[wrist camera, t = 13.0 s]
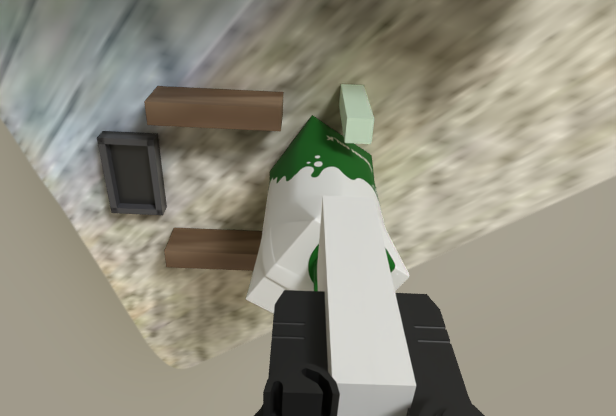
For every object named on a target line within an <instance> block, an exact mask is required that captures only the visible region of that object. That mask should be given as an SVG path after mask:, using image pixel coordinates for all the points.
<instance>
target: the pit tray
mask: <svg viewBox="0 0 616 416" xmlns="http://www.w3.org/2000/svg"><path fill="white" fill-rule="evenodd" d="M97 141H98V146H99V151H100V156H101V161H102V166H103V171H104V176H105V181H106V187H107V192H108V197H109V202H110V207H111V212H112V213H124V214H148V215H163V214H164V212H165V210H166V208H167V205H166V197H165V189H164V181H163V173H162V165H161V157H160V149H159V140H158V134H155V133H134V132H112V131H103V132H102V133H101V134H100V135H99V136H98V137H97Z"/></svg>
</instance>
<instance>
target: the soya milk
mask: <svg viewBox="0 0 616 416" xmlns="http://www.w3.org/2000/svg"><path fill="white" fill-rule="evenodd" d="M323 195H325V196H348V197H371V198H374V202H375V206H376V210H377V215H378V219H379V224H380V228H381V232H382V237H383V241H384V246H385V250H386V254H387V259H388V263H389V268H390V272H391V276H392V281H393V285H394V290H395V291H396V290H397V289H398V288H399V287H400V286H401V285H402V284H403V283H404V282H405V281H406V280H407V279H408V278H409V273H408V271H407V269H406V267H405V265H404V263H403V261H402V259H401V257H400V256H399V254H398V252H397V250H396V248H395V246H394V244H393V242H392V240H391V238H390V236H389V234H388V232H387V230H386V228H385V224H384V220H383V216H382V212H381V208H380V204H379V199H378V195H377V191H376V187H375V183H374V174H373V165H372V155H370V154H369V153H367V152H366V151H364V150H363V149H361V148H360V147H358V146H357V145H356V144H354V143H345V141H344V136H342V135H341V134H339V133H338V132H336V131H335V130H333V129H332V128H330V127H329V126H327V125H326V124H325V123H323V122H322V121H320V120H319V119H317V118H316V117H314V116H313V115H312V116H311V118H310V119H309V120H308V122H307V123H306V124H305V126H304V127H303V128H302V130H301V131H300V132H299V134H298V135H297V136H296V138H295V139H294V140H293V142H292V143H291V144H290V146H289V147H288V148H287V150H286V151H285V152H284V154H283V155H282V156H281V157H280V159H279V160H278V161H277V163H276V164H275V165H274V167H273V168H272V169H271V171H270V182H269V188H268V196H267V203H266V210H265V217H264V224H263V231H262V239H261V243H260V247H259V251H258V255H257V259H256V263H255V267H254V270H253V274H252V278H251V282H250V285H249V289H248V293H247V296H246V300H248V301H250V302H251V303H253V304H255V305H257V306H259V307H261V308H263V309H265V310H267V311H269V312H271V313H273V314H274V306H275V303H276V302H277V300H278V299H279V297H280V296H281V294H282V293H283V291H284V290H297V291H318V284H317V263H318V250H319V237H320V224H321V211H322V198H323Z"/></svg>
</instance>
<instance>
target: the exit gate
mask: <svg viewBox="0 0 616 416" xmlns="http://www.w3.org/2000/svg"><path fill="white" fill-rule="evenodd" d="M339 109H340V116H341V122H342V129H343V135H344V141H345V143H357V144H371V142H372V134H373V126H374V116H373V113H372V110H371V107H370V103H369V100H368V97H367V94H366V91H365V88H364V85H353V84H341V88H340V100H339Z"/></svg>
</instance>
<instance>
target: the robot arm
mask: <svg viewBox="0 0 616 416" xmlns="http://www.w3.org/2000/svg"><path fill="white" fill-rule="evenodd" d="M317 284H318V291H297V290H284V291H283V293H282V294H281V296H280V297H279V299H278V300H277V302H276V303H275V306H274V318H273V330H272V342H271V355H270V366H269V378H268V380H267V383H266V386H265V389H264V392H263V393H264V394H263V401H264V402H263V405H262V407H261V409H260V410H259V411H258V412H257V413H256V414H255V415H254V416H484V415H483V414H482V413H481V412H480V411H479V410H478V409H477V408H476V407H475V406H474V405H472V403H471V401H470V399H469V397H468V394H467V391H466V388H465V384H464V381H463V378H462V375H461V373H460V369H459V366H458V363H457V360H456V357H455V354H454V351H453V348H452V345H451V344H450V339H449V336H448V333H447V330H445V324H444V321H443V318H442V314H441V312H440V309H439V308H438V307H437V306H436V304H435V303H434V302H433V301H432V300H431V299H430V298H429V296H428V295H427V294H407V293H395V290H394V285H393V281H392V276H391V272H390V268H389V263H388V259H387V254H386V250H385V246H384V241H383V237H382V232H381V228H380V224H379V219H378V215H377V210H376V206H375V202H374V198H371V197H348V196H325V195H323V198H322V211H321V224H320V237H319V250H318V263H317Z"/></svg>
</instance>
